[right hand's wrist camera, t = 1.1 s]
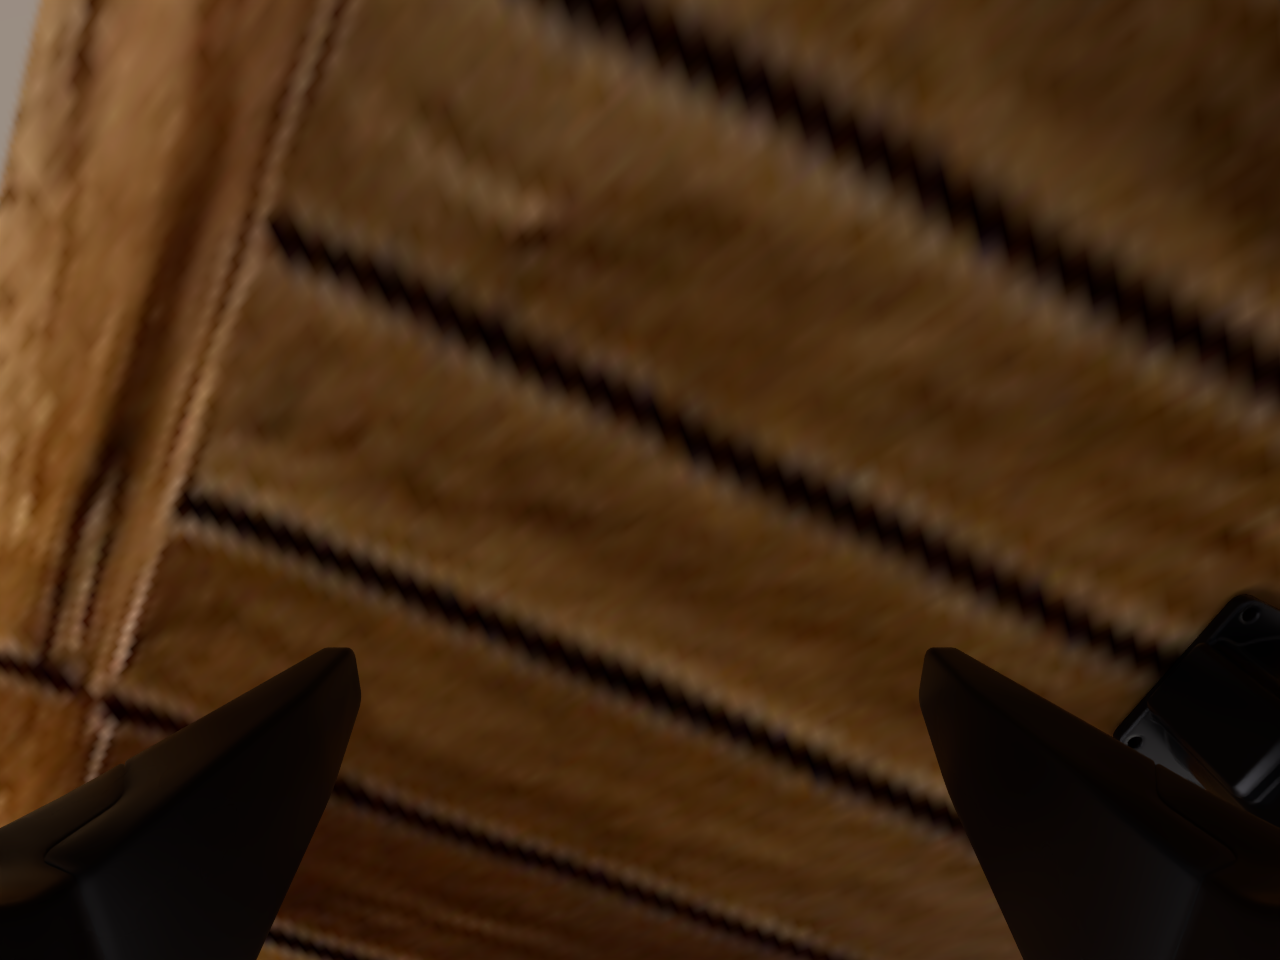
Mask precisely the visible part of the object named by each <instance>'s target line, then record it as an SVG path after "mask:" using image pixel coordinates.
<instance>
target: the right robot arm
mask: <svg viewBox="0 0 1280 960" xmlns="http://www.w3.org/2000/svg"><path fill="white" fill-rule="evenodd" d="M1247 609H1248V611H1247V612H1246V613H1244V611H1246V610H1247ZM1243 613H1244V614H1243ZM360 702H361V689H360V683H359V676H358V670H357V664H356V658H355V654H354V652H353V650H351V649H350V648H324V649H322V650H320V651H319V652H317V653H315V654H313V655H311V656H310V657H308V658H306V659H304V660H303V661H301V662H299V663H297V664H296V665H294V666H292V667H290V668H289V669H287V670H285V671H283V672H282V673H280V674H278V675H276V676H274V677H273V678H271V679H269V680H267V681H266V682H264V683H262V684H260V685H259V686H257V687H255V688H253V689H252V690H250V691H248V692H246V693H245V694H243V695H241V696H239V697H238V698H236V699H234V700H232V701H230V702H229V703H227V704H225V705H223V706H222V707H220V708H218V709H216V710H215V711H213V712H211V713H209V714H208V715H206V716H204V717H202V718H201V719H199V720H197V721H195V722H193V723H192V724H190V725H188V726H186V727H185V728H183V729H181V730H179V731H178V732H176V733H174V734H172V735H171V736H169V737H167V738H165V739H164V740H162V741H160V742H158V743H157V744H155V745H153V746H151V747H149V748H148V749H146V750H144V751H142V752H141V753H139V754H137V755H135V756H134V757H132V758H130V759H128V760H127V761H126V762H125V765H124V764H119V765H117V766H116V767H114V768H112V769H111V770H109V771H107V772H105V773H104V774H102V775H100V776H98V777H97V778H95V779H93V780H91V781H89V782H87V783H86V784H84V785H82V786H80V787H78V788H77V789H75V790H73V791H71V792H69V793H67V794H66V795H64V796H62V797H60V798H58V799H56V800H54V801H52V802H51V803H49V804H47V805H45V806H43V807H41V808H39V809H37V810H35V811H33V812H31V813H29V814H27V815H25V816H23V817H21V818H19V819H17V820H15V821H13V822H11V823H9V824H7V825H5V826H3V827H1V828H0V960H256V959H257V957H258V955H259V953H260V951H261V948H262V946H263V944H264V942H265V940H266V937H267V935H268V933H269V931H270V929H271V926H272V924H273V922H274V920H275V918H276V915H277V913H278V911H279V909H280V907H281V904H282V902H283V900H284V898H285V895H286V893H287V891H288V889H289V887H290V884H291V882H292V880H293V878H294V876H295V873H296V871H297V869H298V867H299V865H300V862H301V860H302V858H303V856H304V854H305V851H306V849H307V847H308V845H309V843H310V840H311V838H312V836H313V834H314V832H315V829H316V827H317V825H318V823H319V821H320V818H321V816H322V814H323V812H324V810H325V807H326V805H327V803H328V800H329V798H330V795H331V793H332V790H333V787H334V785H335V782H336V779H337V776H338V773H339V770H340V767H341V763H342V760H343V757H344V754H345V751H346V748H347V745H348V742H349V739H350V735H351V732H352V729H353V726H354V723H355V720H356V717H357V714H358V711H359V707H360ZM919 702H920V707H921V711H922V714H923V717H924V720H925V723H926V726H927V729H928V732H929V735H930V739H931V742H932V745H933V748H934V751H935V754H936V757H937V760H938V763H939V767H940V770H941V773H942V776H943V779H944V782H945V785H946V787H947V790H948V793H949V795H950V798H951V800H952V803H953V805H954V807H955V810H956V812H957V814H958V816H959V818H960V821H961V823H962V825H963V827H964V829H965V832H966V834H967V836H968V838H969V840H970V843H971V845H972V847H973V849H974V851H975V854H976V856H977V858H978V860H979V862H980V865H981V867H982V869H983V871H984V873H985V876H986V878H987V880H988V882H989V884H990V887H991V889H992V891H993V893H994V896H995V898H996V900H997V902H998V904H999V907H1000V909H1001V911H1002V913H1003V915H1004V918H1005V920H1006V922H1007V924H1008V926H1009V929H1010V931H1011V933H1012V935H1013V937H1014V940H1015V942H1016V944H1017V946H1018V948H1019V951H1020V953H1021V955H1022V957H1023V959H1024V960H1280V610H1279V609H1277V608H1275V607H1273V606H1271V605H1269V604H1267V603H1265V602H1263V601H1261V600H1259V599H1257V598H1255V597H1253V596H1251V595H1247V594H1246V595H1239V596H1237V597H1235V598H1233V599H1232V600H1231V601H1230V602H1228V604H1227V605H1226V606H1225V607H1224V608H1223V609H1222V610H1221V612H1220V613H1219V614H1218V615H1217V616H1216V617H1215V618H1214V619H1213V621H1212V622H1211V623H1210V624H1209V625H1208V626H1207V627H1206V628H1205V630H1204V631H1203V632H1202V633H1201V634H1200V635H1199V636H1198V637H1197V639H1196V640H1195V641H1194V642H1193V643H1192V644H1191V645H1190V646H1189V648H1188V649H1187V650H1186V651H1185V652H1184V653H1183V654H1182V656H1181V657H1180V658H1179V659H1178V660H1177V661H1176V662H1175V663H1174V665H1173V666H1172V667H1171V668H1170V669H1169V670H1168V671H1167V672H1166V674H1165V675H1164V676H1163V677H1162V678H1161V679H1160V680H1159V681H1158V683H1157V684H1156V685H1155V686H1154V687H1153V688H1152V689H1151V691H1150V692H1149V693H1148V694H1147V695H1146V696H1145V697H1144V698H1143V700H1142V701H1141V702H1140V703H1139V704H1138V705H1137V706H1136V707H1135V709H1134V710H1133V711H1132V712H1131V713H1130V714H1129V715H1128V716H1127V718H1126V719H1125V720H1124V721H1123V722H1122V723H1121V724H1120V725H1119V727H1118V728H1117V729H1116V730H1115V732H1114V734H1113V737H1111V736H1109V735H1108V734H1106V733H1104V732H1102V731H1101V730H1099V729H1097V728H1095V727H1094V726H1092V725H1090V724H1088V723H1087V722H1085V721H1083V720H1081V719H1079V718H1078V717H1076V716H1074V715H1072V714H1071V713H1069V712H1067V711H1065V710H1064V709H1062V708H1060V707H1058V706H1057V705H1055V704H1053V703H1051V702H1050V701H1048V700H1046V699H1044V698H1042V697H1041V696H1039V695H1037V694H1035V693H1034V692H1032V691H1030V690H1028V689H1027V688H1025V687H1023V686H1021V685H1020V684H1018V683H1016V682H1014V681H1013V680H1011V679H1009V678H1007V677H1005V676H1004V675H1002V674H1000V673H998V672H997V671H995V670H993V669H991V668H990V667H988V666H986V665H984V664H983V663H981V662H979V661H977V660H976V659H974V658H972V657H970V656H969V655H967V654H965V653H963V652H961V651H960V650H958V649H956V648H930V649H929V650H927V652H926V654H925V658H924V664H923V670H922V676H921V683H920V689H919ZM1132 737H1134V738H1132ZM1131 738H1132V739H1131ZM1129 739H1131V740H1129ZM1203 788H1204V789H1203ZM1205 789H1206V790H1205Z"/></svg>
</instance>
